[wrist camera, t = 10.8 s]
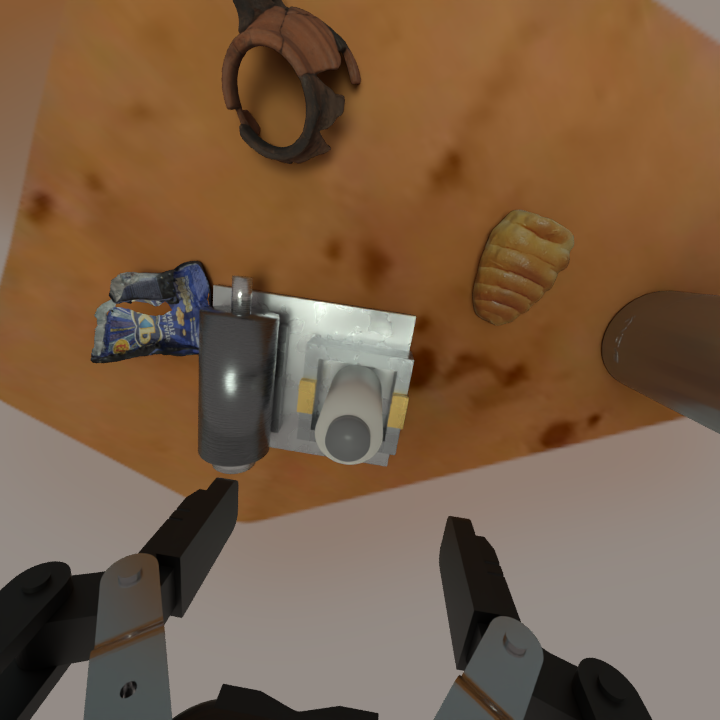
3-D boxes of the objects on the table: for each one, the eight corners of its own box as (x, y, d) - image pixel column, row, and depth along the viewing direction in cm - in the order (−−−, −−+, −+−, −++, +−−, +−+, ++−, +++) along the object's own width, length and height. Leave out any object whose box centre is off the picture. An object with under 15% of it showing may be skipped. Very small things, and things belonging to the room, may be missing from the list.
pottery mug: (388, 113, 28) (353, 130, 23) (307, 170, 34) (261, 195, 28) (308, -80, 23) (235, -121, 17) (226, 24, 28) (150, 19, 22)
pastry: (515, 333, 32) (531, 342, 29) (451, 304, 32) (459, 310, 28) (571, 237, 30) (598, 233, 26) (502, 204, 29) (518, 196, 26)
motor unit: (421, 299, 32) (431, 311, 25) (389, 462, 37) (390, 510, 30) (218, 268, 32) (172, 270, 25) (214, 433, 37) (174, 473, 30)
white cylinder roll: (385, 369, 33) (389, 416, 23) (376, 416, 34) (376, 477, 25) (334, 361, 33) (316, 403, 23) (327, 407, 34) (308, 466, 25)
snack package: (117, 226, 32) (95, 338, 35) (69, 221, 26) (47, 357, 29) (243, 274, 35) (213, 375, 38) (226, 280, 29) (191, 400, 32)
